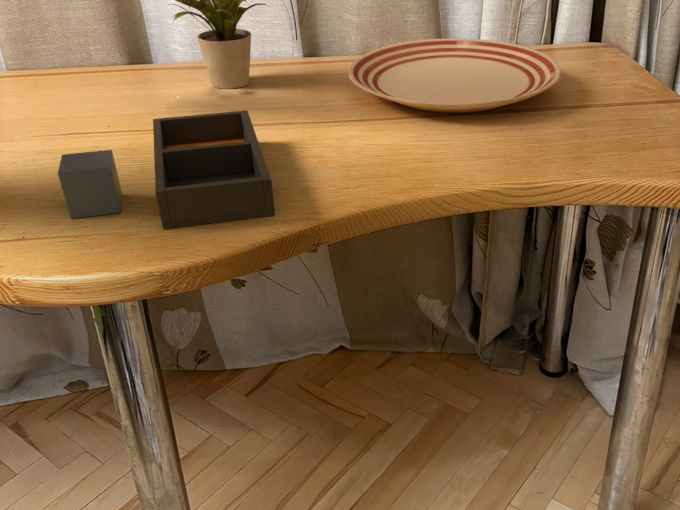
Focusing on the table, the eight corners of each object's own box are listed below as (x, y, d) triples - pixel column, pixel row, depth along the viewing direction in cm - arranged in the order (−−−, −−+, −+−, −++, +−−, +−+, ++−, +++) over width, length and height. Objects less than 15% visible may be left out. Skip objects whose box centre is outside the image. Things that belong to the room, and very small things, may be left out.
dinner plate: (509, 141, 83) (512, 112, 81) (308, 103, 94) (306, 77, 92) (585, 77, 102) (589, 52, 100) (411, 52, 113) (411, 29, 111)
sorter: (163, 229, 66) (155, 192, 64) (159, 151, 82) (152, 118, 79) (275, 215, 68) (271, 179, 66) (251, 141, 84) (247, 110, 81)
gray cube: (70, 219, 68) (57, 172, 66) (74, 198, 72) (61, 154, 69) (121, 213, 69) (110, 167, 66) (122, 193, 73) (111, 149, 70)
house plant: (208, 62, 110) (190, -63, 100) (296, 69, 106) (286, -60, 97) (159, 91, 99) (133, -46, 89) (255, 99, 95) (239, -42, 86)
